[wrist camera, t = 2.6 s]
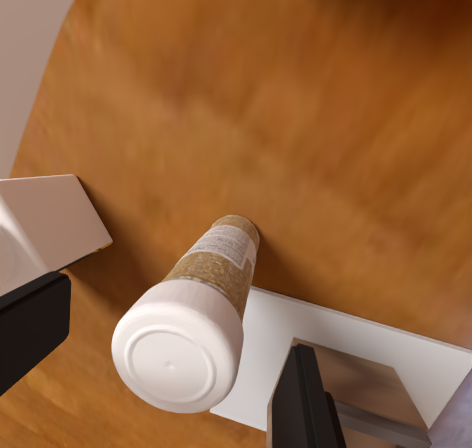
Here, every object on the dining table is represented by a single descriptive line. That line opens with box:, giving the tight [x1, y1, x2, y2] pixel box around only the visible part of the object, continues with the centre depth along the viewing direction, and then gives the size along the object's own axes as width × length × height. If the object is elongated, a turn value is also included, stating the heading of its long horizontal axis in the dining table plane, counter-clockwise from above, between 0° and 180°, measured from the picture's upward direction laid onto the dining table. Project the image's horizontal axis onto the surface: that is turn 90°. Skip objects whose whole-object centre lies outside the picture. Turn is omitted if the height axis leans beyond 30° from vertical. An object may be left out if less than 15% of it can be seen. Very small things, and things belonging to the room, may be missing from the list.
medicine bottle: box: [0, 174, 113, 296], centre depth 17 cm, size 7×7×12 cm
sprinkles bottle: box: [112, 215, 260, 413], centre depth 14 cm, size 5×5×13 cm
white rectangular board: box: [210, 286, 472, 432], centre depth 23 cm, size 20×16×1 cm
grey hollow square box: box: [266, 337, 432, 448], centre depth 20 cm, size 9×9×6 cm
